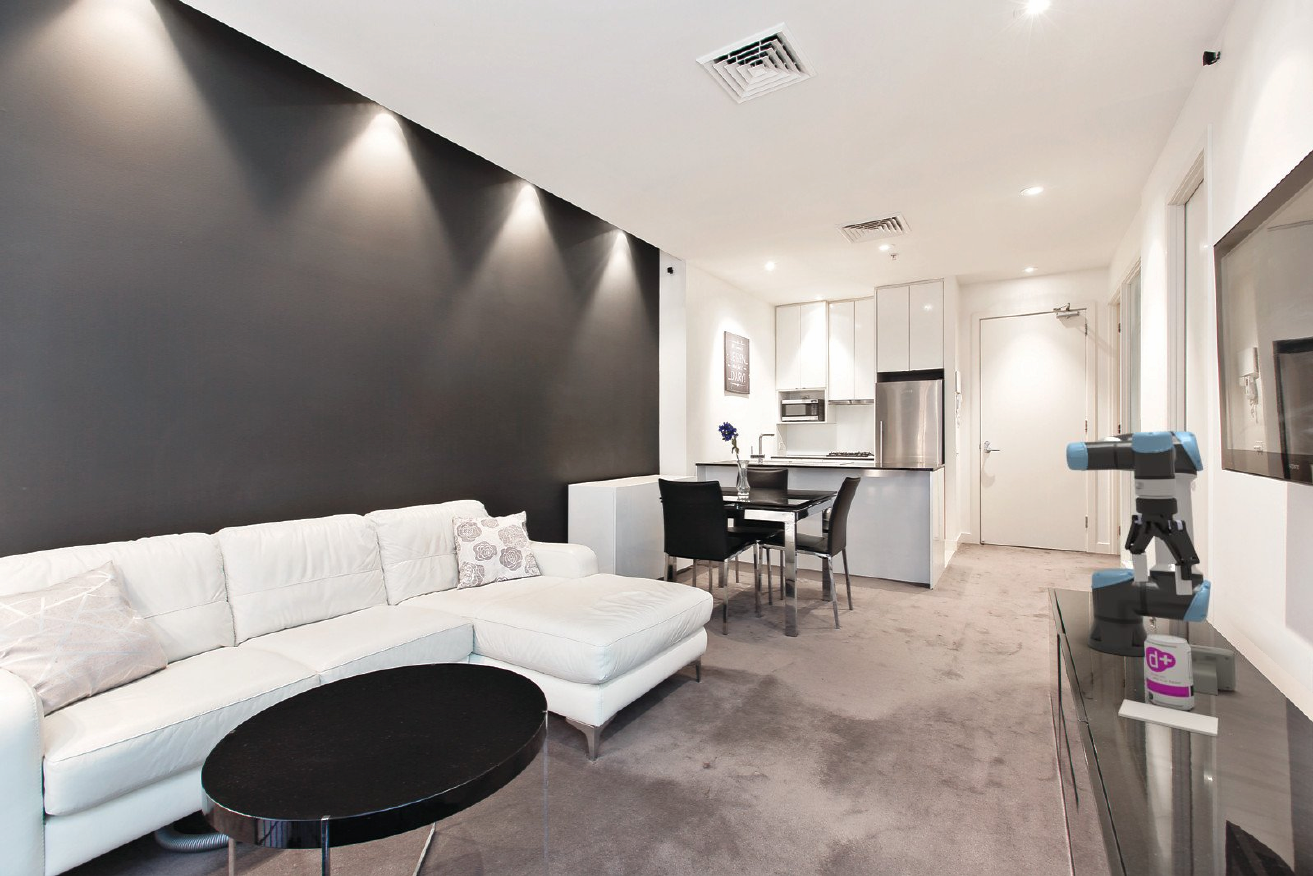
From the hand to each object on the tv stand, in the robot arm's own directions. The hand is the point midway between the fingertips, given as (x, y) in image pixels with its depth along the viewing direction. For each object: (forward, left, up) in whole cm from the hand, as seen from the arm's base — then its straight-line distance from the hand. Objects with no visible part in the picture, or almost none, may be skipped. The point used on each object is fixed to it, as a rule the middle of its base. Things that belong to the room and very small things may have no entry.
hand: (1161, 587), depth 140 cm
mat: (+11, 0, -26) cm, 29 cm away
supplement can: (+1, 0, -27) cm, 27 cm away
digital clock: (-16, +3, -27) cm, 31 cm away
